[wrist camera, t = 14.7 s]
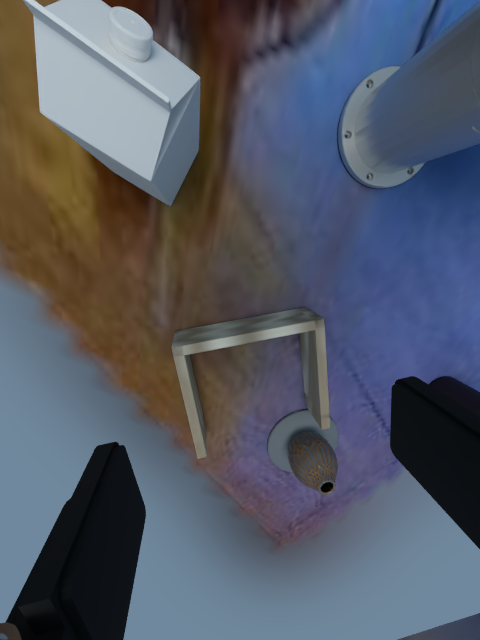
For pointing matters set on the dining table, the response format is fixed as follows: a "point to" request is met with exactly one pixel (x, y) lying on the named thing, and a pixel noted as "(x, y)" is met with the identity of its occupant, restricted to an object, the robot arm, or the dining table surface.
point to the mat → (292, 427)
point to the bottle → (459, 393)
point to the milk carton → (117, 92)
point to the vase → (313, 461)
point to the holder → (248, 332)
